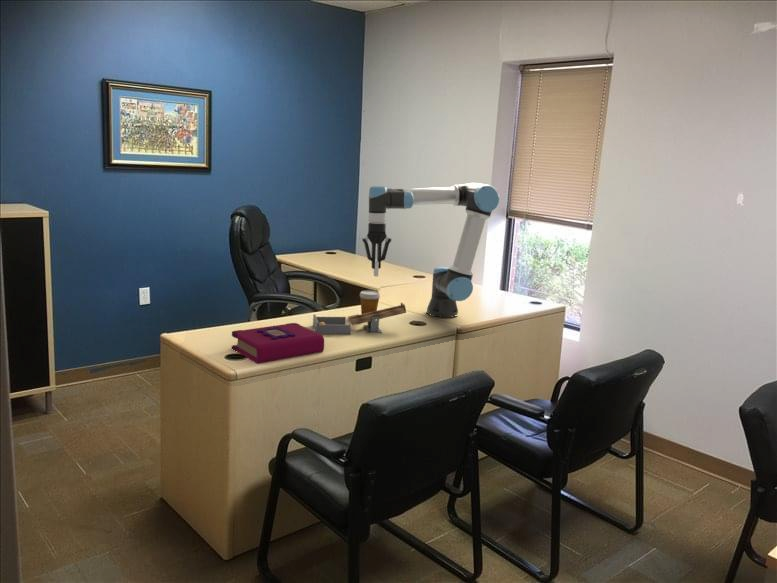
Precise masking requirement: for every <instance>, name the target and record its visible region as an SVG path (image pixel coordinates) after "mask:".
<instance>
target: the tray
mask: <svg viewBox="0 0 777 583" xmlns="http://www.w3.org/2000/svg"><path fill="white" fill-rule="evenodd" d="M312 317H313V318H312V320H313V321H312V328H314V329H315V330H314V331H315V332H317V333H319V334H321V335H351V326H352V325H351V324H346V322H347V321H346V320H347V319H346V316H316V314H313V316H312ZM320 322H324V323H325V325H319V323H320Z"/></svg>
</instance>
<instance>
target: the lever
mask: <svg viewBox="0 0 777 583" xmlns="http://www.w3.org/2000/svg"><path fill="white" fill-rule="evenodd" d="M406 313H407V309H406V305H405V303H403V302H400V305H396V306H392V307H388V308H383V309H379V310H378V309H377V311H374V312H369V313H365V314H359V313H357V314H353V315H350V316H347V320H348V321H349V323H350V325H351V326H357V325H361V324H364V323H368V322H369V321H371V318H372V317H379V320H382V319H386V318H390V317H394V316H399V315H403V314H406Z"/></svg>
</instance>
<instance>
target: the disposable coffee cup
mask: <svg viewBox="0 0 777 583" xmlns="http://www.w3.org/2000/svg"><path fill="white" fill-rule="evenodd" d="M359 298H360V308H361V309H360V311H361V314H365V313H368V312H374V311H378V306H379V301H380V298H381V294H380V292H378V291H375V290H361V291H360V293H359ZM361 314H360V315H361Z"/></svg>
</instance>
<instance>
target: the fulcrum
mask: <svg viewBox="0 0 777 583" xmlns="http://www.w3.org/2000/svg"><path fill="white" fill-rule="evenodd" d="M368 313H369V312H368ZM379 326H380V319H379V317H372V318H371V321H369V322H367V325H366V324H364V325H363V328H364V330H365V331H366V330H367V331H366V332H367V334H368V333H382V334H383V331H382V330H381V328H380V327H379Z"/></svg>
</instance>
